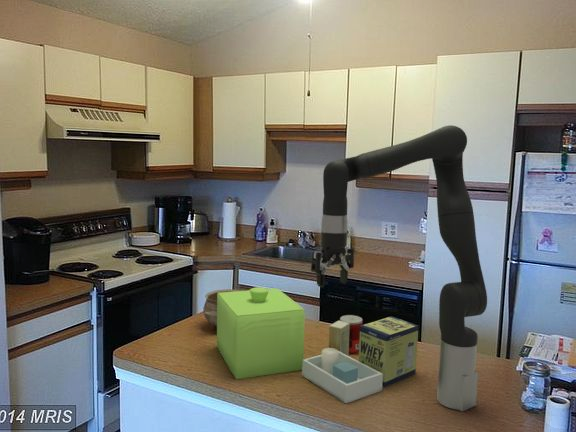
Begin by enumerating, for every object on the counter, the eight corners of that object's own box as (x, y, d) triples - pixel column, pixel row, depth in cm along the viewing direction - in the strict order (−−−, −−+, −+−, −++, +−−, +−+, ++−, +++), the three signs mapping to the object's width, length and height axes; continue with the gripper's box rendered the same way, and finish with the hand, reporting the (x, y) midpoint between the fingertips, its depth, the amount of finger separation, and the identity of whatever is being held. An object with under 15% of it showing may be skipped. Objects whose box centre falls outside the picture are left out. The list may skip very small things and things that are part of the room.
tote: (382, 390, 139) (382, 373, 138) (346, 403, 131) (346, 385, 130) (336, 365, 155) (337, 350, 154) (302, 375, 147) (302, 359, 146)
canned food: (360, 346, 171) (362, 315, 170) (361, 355, 163) (363, 323, 162) (338, 344, 172) (339, 314, 170) (338, 353, 164) (340, 322, 163)
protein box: (357, 374, 149) (359, 325, 147) (389, 362, 159) (392, 315, 157) (384, 387, 141) (386, 335, 139) (416, 373, 151) (419, 324, 149)
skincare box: (337, 355, 163) (338, 319, 161) (348, 358, 160) (350, 322, 159) (327, 361, 157) (328, 325, 156) (339, 365, 155) (340, 328, 153)
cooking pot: (230, 313, 202) (231, 284, 201) (267, 323, 192) (268, 292, 190) (186, 330, 182) (186, 298, 180) (225, 342, 171) (226, 308, 170)
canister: (216, 347, 167) (217, 281, 164) (275, 340, 174) (277, 277, 171) (236, 379, 144) (236, 303, 141) (303, 370, 151) (305, 297, 148)
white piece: (330, 368, 151) (330, 346, 150) (341, 374, 147) (341, 352, 146) (317, 372, 148) (318, 350, 147) (328, 378, 144) (329, 356, 143)
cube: (357, 384, 141) (357, 367, 140) (343, 388, 138) (344, 371, 137) (345, 377, 145) (346, 361, 144) (332, 381, 142) (333, 365, 142)
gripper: (344, 226, 149) (342, 278, 151) (306, 229, 141) (305, 285, 143) (361, 230, 143) (358, 284, 145) (323, 233, 135) (321, 291, 137)
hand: (332, 284), depth 144 cm, fingers open, 8 cm apart
